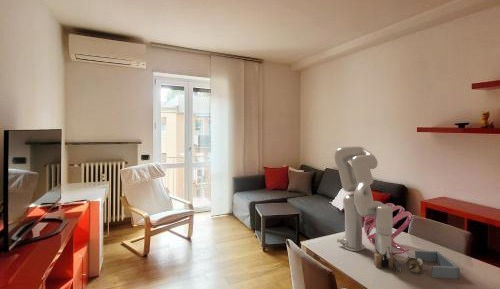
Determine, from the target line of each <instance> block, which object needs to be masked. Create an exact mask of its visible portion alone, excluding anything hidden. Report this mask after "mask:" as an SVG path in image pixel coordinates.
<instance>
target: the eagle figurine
mask: <svg viewBox="0 0 500 289" xmlns="http://www.w3.org/2000/svg"><path fill="white" fill-rule="evenodd" d="M422 265H423V261H422V260H421V259H420V258H418V259H415V257H412V256H411V257H410V256H409V255H407V260H406V266H408V269H411V268H412V269H411V270H410V273H411V274H412V275H416V276H417V275H420V274H422Z"/></svg>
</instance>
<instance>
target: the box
mask: <svg viewBox="0 0 500 289" xmlns="http://www.w3.org/2000/svg"><path fill="white" fill-rule="evenodd" d="M414 258H415V259H418V258H420V259H421V260H422V262H436V263H437V264H438V265H432V266H431V277H432V278H437V279H458V280H460V271H461V270H460V269H461V268H460V267H459V266H458V265H456V264H455V263H454V262H452V261H451V260H450V259H449V258H447V257H446V256H445V255H443V254H442V253H440V251H437V250H414Z"/></svg>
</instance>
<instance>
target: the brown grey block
mask: <svg viewBox="0 0 500 289" xmlns="http://www.w3.org/2000/svg"><path fill="white" fill-rule="evenodd" d="M373 255H374V256H373V257H374V258H373V260H374V261H373V262H374V264H373V265H374V266H375V268H379V269H381V268H383V269H386V268H385V267H382V255H381V254H380V253H379V252H376V253H375V252H374V253H373ZM385 256H386V255H384V257H385ZM387 269H393V270H394V271H395V272H396V273H401V272H402V264H401V263H400V261H399V260H397V259H396V257H395V256H394V254H391V255H390V259H389V267H388V268H387Z"/></svg>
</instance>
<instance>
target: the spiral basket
mask: <svg viewBox="0 0 500 289" xmlns="http://www.w3.org/2000/svg"><path fill="white" fill-rule="evenodd" d="M383 204H384V205H388V206H390V207H392V210H393V212H395V211H397V210H399V211H398V213H397V214H396V215H395V216H394V217H393V216H392V228H393V227H394V226H395V225H396V224H397V223H398V222H399V221H401V220H403V219H404V218H405V217H406V220H405V221H404V222H403V223H402V224H401V226H399V227H398V228H397V229H396V230H395V231H394V232H392V235H391V241H392V247H393V246H394V247H395V248H397V249H399V250H401V251H397V252H396V251H395V252H393V251H392V255H401V254H404V253H406V252H408V251H410V249H409V248H404V247H402V246H401V245H400V244H398V243H397V242H396V241H395V240H394V239H395V238H396V237H398V236H399V235H400V234H401V233H402V232H404V230H406V228H408V227H409V225H410V224H411V223H412V220H413V218H414V216H413V214H412V213H411V212H410V211H406V210H405V208H404V207H403V206H401V205H395V204H394V203H391V202H388V203H383ZM370 221H371V223H370V224H369V225H367V224H368V223H369V222H370ZM373 229H376V216H369V217H364V221H363V230H364V233H365V236H366V238H367V240H368V241H369V243H370V244H371V245H372V246H373V247H374V248H376V247H375V237H376V232H375V233H373V234H370V233H371V232H372V230H373Z"/></svg>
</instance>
